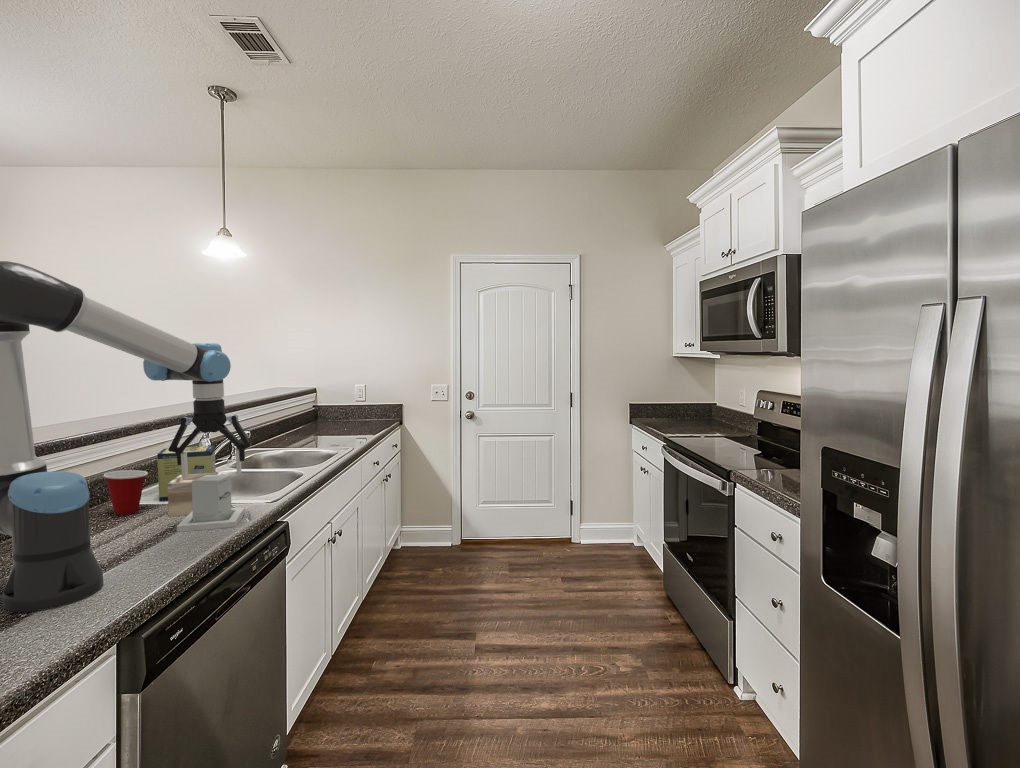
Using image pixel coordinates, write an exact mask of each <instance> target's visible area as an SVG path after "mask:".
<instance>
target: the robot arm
mask: <svg viewBox="0 0 1020 768" xmlns="http://www.w3.org/2000/svg"><path fill="white" fill-rule="evenodd" d="M30 325H31V326H36V327H40V328H44V329H47V330H50V331H53V332H56V333H62V332H65V331H66V332H67V331H68V332H71V333H73V334H76V335H79V336H81V337H84V338H87V339H89V340H91V341H94V342H97V343H100V344H102V345H105V346H107V347H110V348H113V349H116V350H118V351H122V352H124V353H127V354H129V355H131V356H135V357H137V358H140V359H143V362H142V365H143V372H144V374H145V375H146V377H147V378H148V379H149V380H152V381H162V382H165V381H191V383H192V398H193V399H195V400H193V417H188V416H183V417H181V418H180V424H179V425H180V426H179V428H178V430H177V432H176V434H175V436H174V437H173V439H172V441H171V443H170V444H169V445H170V446H169V447H168V448H169V449H168V450H169V451H170V452H175V453H176V454H177V464H178V465H181V467H182V477H186V476H187V475H188V465H187V452H183V451H184V450H185V449H186V447H188V446H190V445H191V443H192V442H193V441H194V440H195V438H196V437H197V436H198V435H199V434H200V433H203V434H207V433H217V432H220V434H222V435H223V436H224V437H225V438H226V439H227V440H228V441H229V442H230V443H232V445H234V446H235V447H236V448H237V449H236V450H235V463H236V474H237V475H238V474H241V473H242V470H243V469H242V462H243V461H245V459H246V456H245V455H246V452H245V451H246V449H247V448H250V447H251V446H252V442H251V440H250V439H249V436H248V435H247V433H246V432H245V430H244V429H243V427H242V425H241V424H240V422H239V417H238V415H237V414H233V415H226V407H225V399H223V398H224V397H225V390H224V389H225V388H224V387H225V385H224V379H225V378H226V377H228V375H229V373H230V371H231V367H232V365H231V360H230V358H229V357H228V355H227V354H226V353H225V352H223V350H222V346H221V344H219V343H216V342H213V343H211V342H210V343H209V342H208V343H204V342H202V343H201V342H195V343H194V342H193V343H191V342H189V341H187V340H184V339H182V338H179V337H177V336H175V335H173V334H170V333H169V332H166V331H163V330H162V329H160V328H157V327H155V326H152V325H150V324H148V323H146V322H144V321H141V320H138V319H136V318H134V317H132V316H130V315H128V314H125V313H123V312H120V311H119V310H116V309H114V308H112V307H109V306H107V305H105V304H102V303H100V302H98V301H96V300H93V299H91V298H88V297H86V294H85V292H84V290H83V289H81V288H79V287H77V286H74V285H73V284H70V283H68V282H65V281H64V280H61V279H59V278H57V277H55V276H53V275H50V274H49V273H45V272H43V271H41V270H38V269H36V268H34V267H31V266H29V265H26V264H22V263H18V262H13V261H7V260H3V261H2V260H0V534H2V535H5V536H10V537H11V548H12V565H11V568H10V571H9V574H8V577H7V580H6V583H5V585H4V588H3V590H2V596H1V597H2V608H3V609H5V610H7V611H9V612H15V613H16V612H17V613H18V612H22V613H23V612H26V613H27V612H37V611H42V610H48V609H54V608H59V607H61V606H65V605H69V604H71V603H74V602H78V601H80V600H83V599H85V598H87V597H89V596H92V595H93V594H95V593H96V592H98V591H99V590H101V589H102V587H103V586H104V573H103V571H102V569H101V567H100V565H99V562H98V561H97V559H96V556H95V555H94V552H93V551H92V547H91V546H92V545H91V527H90V526H91V524H90V523H91V521H90V490H89V486H88V480H86V478H85V477H84V476H83V475H81V474H79V473H76V472H71V471H56V470H55V471H51V470H50V471H48V468H47V466H48V465H47V462H46V460H44V459H42V458H40V457H38V456H37V455H36V450H35V442H34V436H33V435H34V434H33V433H34V431H33V426H32V425H33V424H32V419H31V418H32V417H31V410H30V402H29V395H28V394H29V393H28V387H27V386H28V385H27V378H26V370H25V362H24V361H25V360H24V355H23V354H24V353H23V345H22V341H23V340H24V339H25V338H26V337H27V336H28V335H29V334H30V332H31V331H30ZM227 421H228V423H230V424H231V425H232V427H233V428H234V429H235V431H236V434H237V435H238V437H239V438H240V439H239V438H237V437H236V436H235V435H234V434H233V432H232V431H230V430H229V429H228V427H227V426H225V424H226V422H227ZM191 423H193V424H194V426H195V428H194V430H193V431H192V432H191V433H190V434H189V435H188V436H187V438H185V440H184V441H183V443H181V445H180V446H179V447H178V445H179V444H180V442H181V440H182V438H183V436H184V434H185V432H186V430H187V428H188V426H189V425H191ZM240 440H241V441H240Z"/></svg>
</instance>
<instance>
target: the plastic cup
mask: <svg viewBox="0 0 1020 768" xmlns="http://www.w3.org/2000/svg"><path fill="white" fill-rule="evenodd" d="M148 474H149V472H148V471H145V470H137V469H128V470H127V469H126V470H124V469H123V470H114V471H109V472H108V471H107V472H105V473H104V474H103V477H104V479H105V483H106V486H107V489H108V494H109V497H110V501H111V504H112V509H113V512H114V514H115V515H117V516H123V515H124V516H125V515H130V514H131V515H132V514H135V513H138V512H139V509H140V504H141V499H142V493H143V487H144V483H145V480H146V478H147V476H148Z"/></svg>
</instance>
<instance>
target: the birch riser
mask: <svg viewBox="0 0 1020 768" xmlns="http://www.w3.org/2000/svg"><path fill="white" fill-rule="evenodd" d="M205 475H224V472H222V471H221V472H216V473H204V474H188V475H187V476H186V477H182V475H179V476H178V477H176V478H175V479H174V480H172V481H171V482H170V483H168V484H167V485H168V501H167V507H168V511H167V512H168V517H178V516H188V515H189V514H190V513H191V512H192V481H193V480H195V479H198V478H201V477H203V476H205Z"/></svg>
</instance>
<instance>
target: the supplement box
mask: <svg viewBox="0 0 1020 768" xmlns="http://www.w3.org/2000/svg"><path fill="white" fill-rule="evenodd" d="M231 477H232V475H231V474H223V475H205V476H203V477H201V478H198V479H195V480H193V481H192V511H193V523H199V522H211V521H224V520H229V519H230V517H231V516H232V513H231V508H232V483H231V482H232V479H231Z"/></svg>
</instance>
